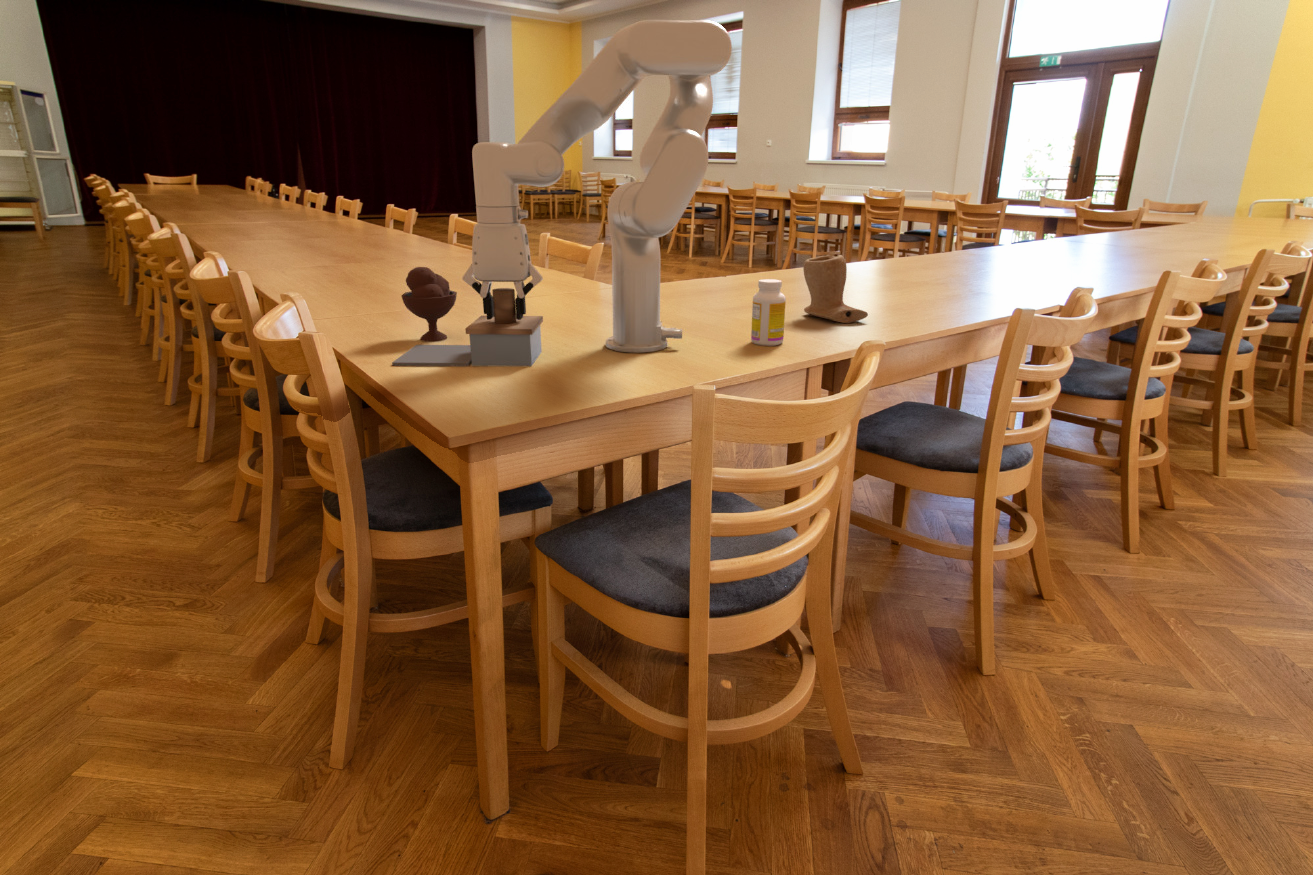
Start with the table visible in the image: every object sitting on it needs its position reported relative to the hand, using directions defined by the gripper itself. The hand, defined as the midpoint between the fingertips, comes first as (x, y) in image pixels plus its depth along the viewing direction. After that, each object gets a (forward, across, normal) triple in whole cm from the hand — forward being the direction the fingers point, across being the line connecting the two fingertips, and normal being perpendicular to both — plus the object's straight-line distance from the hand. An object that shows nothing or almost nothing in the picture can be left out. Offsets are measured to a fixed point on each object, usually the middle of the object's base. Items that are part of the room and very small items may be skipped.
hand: (505, 317), depth 138 cm
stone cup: (+8, -69, -41) cm, 81 cm away
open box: (+8, 0, 0) cm, 8 cm away
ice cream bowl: (+8, +19, -16) cm, 26 cm away
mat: (+8, +13, -1) cm, 15 cm away
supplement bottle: (+8, -51, -15) cm, 54 cm away
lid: (+2, 0, 0) cm, 2 cm away
